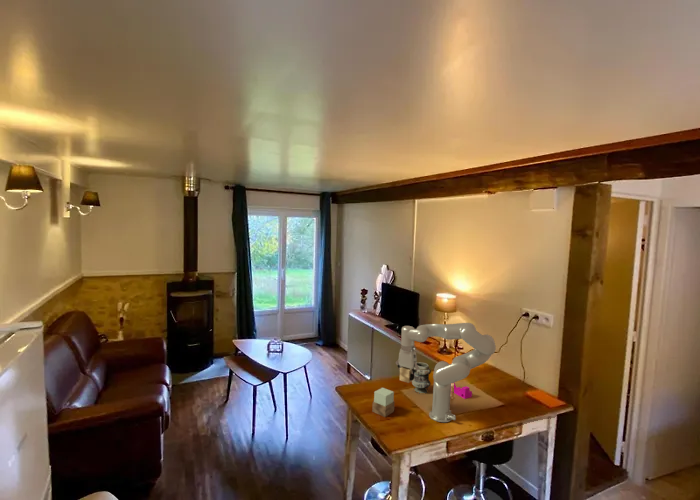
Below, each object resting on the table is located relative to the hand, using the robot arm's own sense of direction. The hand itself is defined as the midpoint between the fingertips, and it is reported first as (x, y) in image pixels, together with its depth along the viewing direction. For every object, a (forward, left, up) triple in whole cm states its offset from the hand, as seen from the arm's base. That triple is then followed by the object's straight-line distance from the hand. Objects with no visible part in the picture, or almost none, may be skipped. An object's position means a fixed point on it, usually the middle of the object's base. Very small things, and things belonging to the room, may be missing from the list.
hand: (406, 377), depth 217 cm
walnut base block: (+9, +10, -20) cm, 24 cm away
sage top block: (+8, +10, -14) cm, 19 cm away
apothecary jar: (+6, -30, -20) cm, 36 cm away
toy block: (-14, -43, -20) cm, 50 cm away
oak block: (0, 0, -1) cm, 1 cm away
